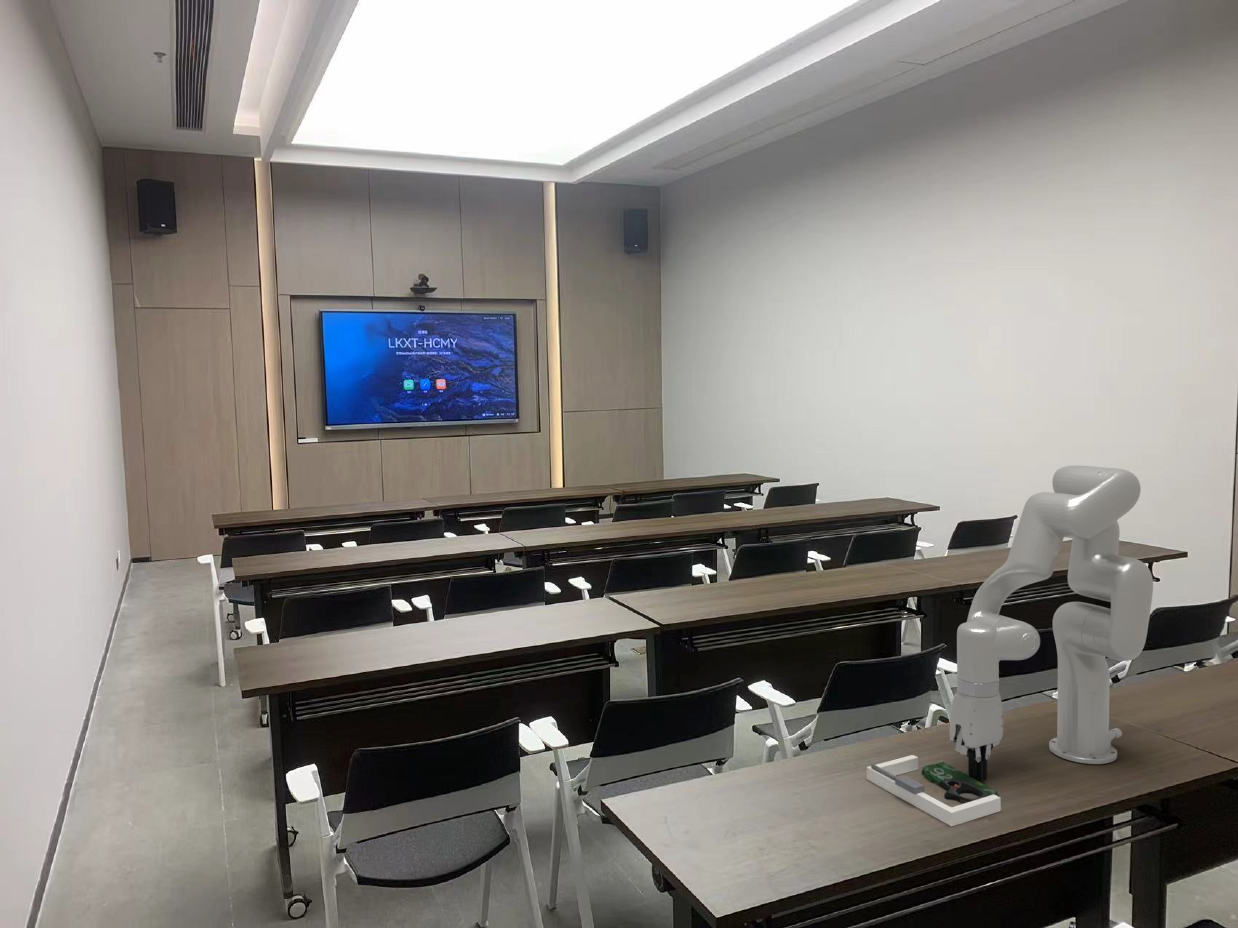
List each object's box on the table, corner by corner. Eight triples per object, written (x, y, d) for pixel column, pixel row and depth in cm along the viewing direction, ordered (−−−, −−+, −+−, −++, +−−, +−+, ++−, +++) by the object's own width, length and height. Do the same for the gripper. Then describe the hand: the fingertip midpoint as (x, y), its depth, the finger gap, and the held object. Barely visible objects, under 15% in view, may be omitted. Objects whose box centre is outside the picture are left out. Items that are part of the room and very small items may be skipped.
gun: (905, 769, 178) (946, 760, 182) (905, 776, 178) (946, 767, 182) (962, 803, 163) (1005, 793, 166) (962, 811, 163) (1005, 800, 166)
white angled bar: (913, 766, 182) (912, 749, 181) (1000, 810, 162) (1000, 791, 162) (865, 779, 176) (864, 761, 176) (949, 827, 157) (949, 806, 156)
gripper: (990, 675, 179) (990, 763, 181) (934, 687, 173) (934, 778, 175) (1021, 685, 173) (1020, 777, 174) (964, 699, 166) (964, 794, 168)
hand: (977, 777), depth 174 cm, fingers closed
